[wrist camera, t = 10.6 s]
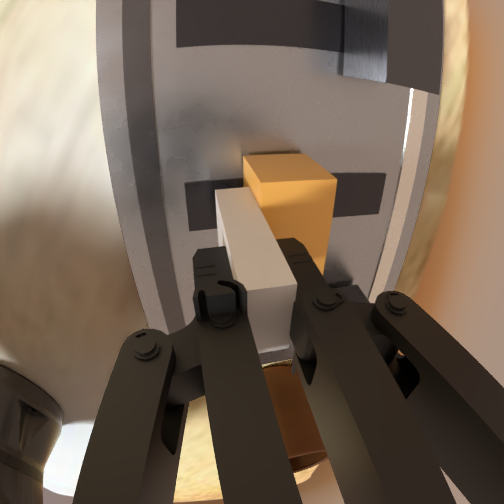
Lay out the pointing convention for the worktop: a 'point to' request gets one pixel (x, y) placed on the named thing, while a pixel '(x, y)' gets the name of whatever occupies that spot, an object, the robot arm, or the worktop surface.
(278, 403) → the mug
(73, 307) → the worktop surface
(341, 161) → the panel
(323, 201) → the tall orange block
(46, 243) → the worktop surface
